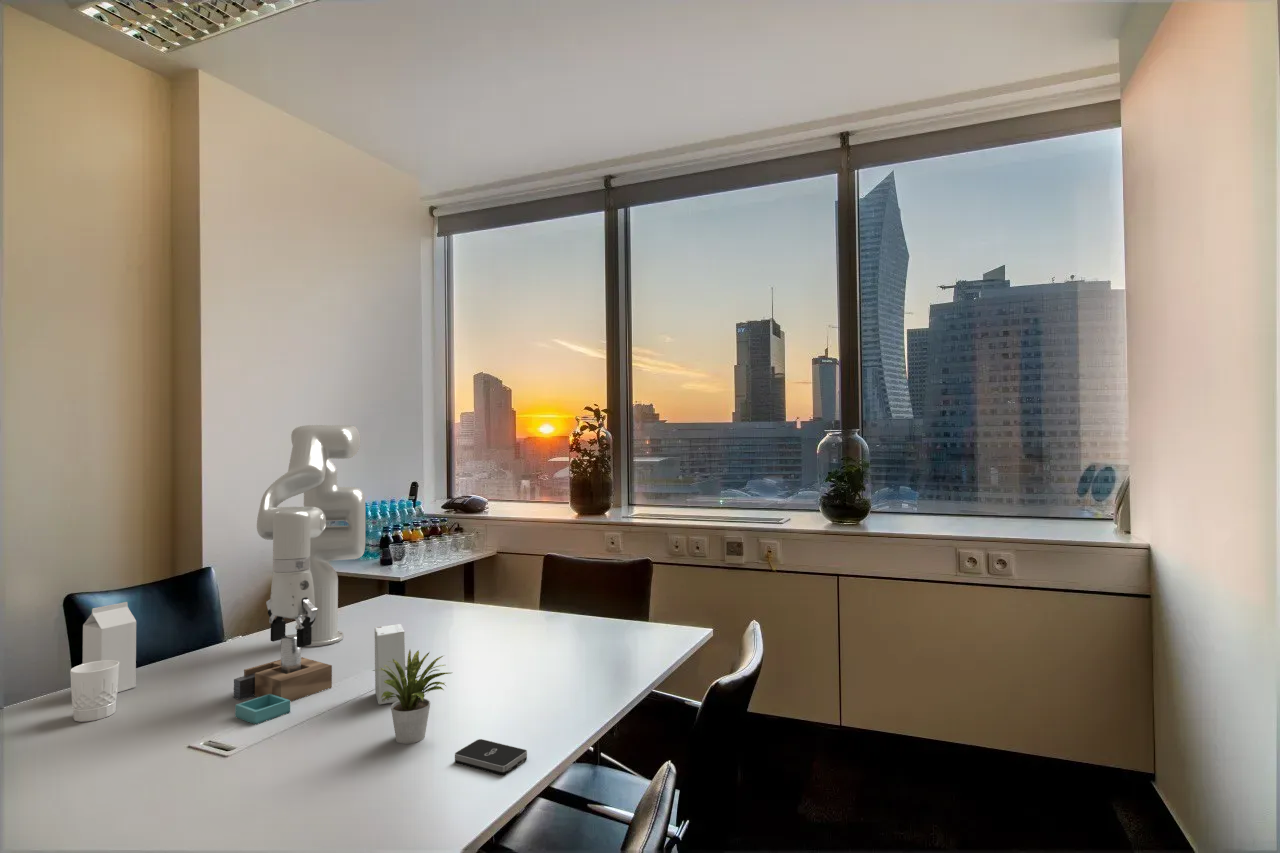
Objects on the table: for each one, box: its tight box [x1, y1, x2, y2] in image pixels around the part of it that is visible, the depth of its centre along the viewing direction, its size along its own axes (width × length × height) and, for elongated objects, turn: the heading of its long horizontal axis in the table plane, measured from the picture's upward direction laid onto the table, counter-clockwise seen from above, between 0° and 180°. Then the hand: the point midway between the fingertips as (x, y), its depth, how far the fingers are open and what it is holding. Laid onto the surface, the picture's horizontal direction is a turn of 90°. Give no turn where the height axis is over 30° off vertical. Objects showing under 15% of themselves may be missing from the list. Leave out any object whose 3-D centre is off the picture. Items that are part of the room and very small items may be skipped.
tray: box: [234, 694, 291, 725], centre depth 143 cm, size 7×7×2 cm
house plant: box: [372, 649, 452, 745], centre depth 131 cm, size 14×14×16 cm
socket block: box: [243, 656, 333, 702], centre depth 157 cm, size 14×12×5 cm
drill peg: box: [280, 633, 302, 674], centre depth 156 cm, size 4×4×12 cm
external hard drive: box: [454, 738, 528, 777], centre depth 122 cm, size 7×11×2 cm, turn 63°
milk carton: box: [82, 601, 137, 693], centre depth 157 cm, size 7×7×19 cm
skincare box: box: [374, 623, 407, 705], centre depth 153 cm, size 8×6×15 cm
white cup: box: [70, 660, 119, 723], centre depth 143 cm, size 8×8×10 cm
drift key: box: [233, 673, 255, 701], centre depth 155 cm, size 2×8×4 cm, turn 148°
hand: (290, 643), depth 156 cm, fingers open, 9 cm apart
